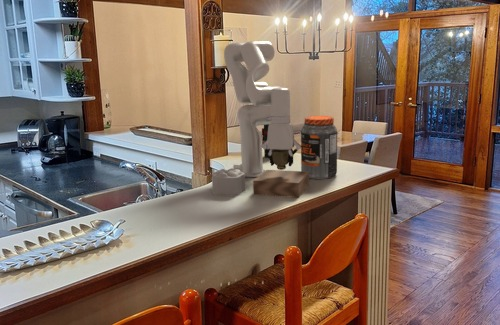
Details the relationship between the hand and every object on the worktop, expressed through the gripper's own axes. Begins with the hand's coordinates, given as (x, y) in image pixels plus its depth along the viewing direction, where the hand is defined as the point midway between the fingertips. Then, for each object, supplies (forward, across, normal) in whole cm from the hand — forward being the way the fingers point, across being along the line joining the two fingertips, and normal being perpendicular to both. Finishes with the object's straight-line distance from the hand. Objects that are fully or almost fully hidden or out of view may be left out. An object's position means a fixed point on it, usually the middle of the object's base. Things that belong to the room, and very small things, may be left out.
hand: (281, 164), depth 181 cm
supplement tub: (+10, +11, +25) cm, 29 cm away
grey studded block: (+10, -21, -6) cm, 24 cm away
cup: (+2, 0, 0) cm, 2 cm away
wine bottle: (+10, -21, +61) cm, 65 cm away
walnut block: (+11, 0, 0) cm, 11 cm away
